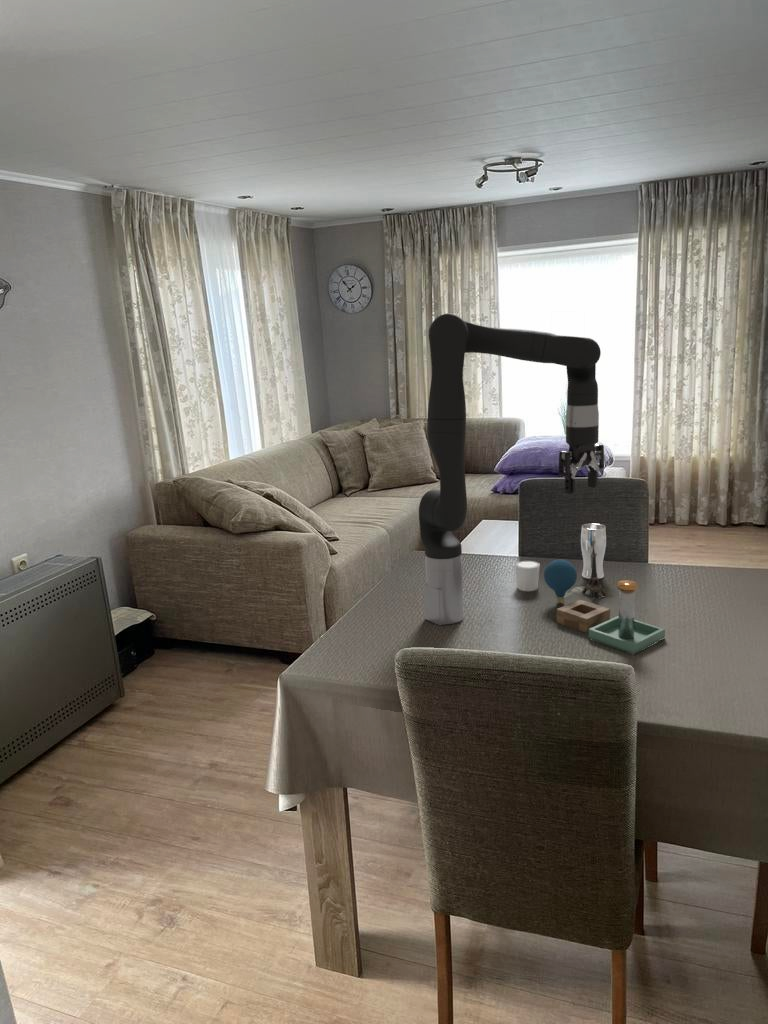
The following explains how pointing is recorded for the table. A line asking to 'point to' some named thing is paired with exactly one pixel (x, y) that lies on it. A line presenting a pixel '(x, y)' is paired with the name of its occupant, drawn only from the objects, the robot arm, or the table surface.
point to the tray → (641, 640)
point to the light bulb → (560, 577)
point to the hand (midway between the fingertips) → (581, 490)
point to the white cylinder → (527, 575)
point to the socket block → (582, 615)
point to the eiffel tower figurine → (590, 585)
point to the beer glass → (593, 548)
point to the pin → (626, 608)
